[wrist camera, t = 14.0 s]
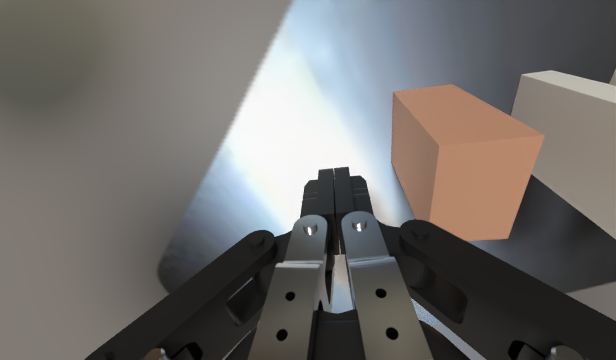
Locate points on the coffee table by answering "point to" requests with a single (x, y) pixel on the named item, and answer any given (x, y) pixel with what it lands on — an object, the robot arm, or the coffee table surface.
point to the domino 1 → (461, 160)
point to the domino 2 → (573, 140)
